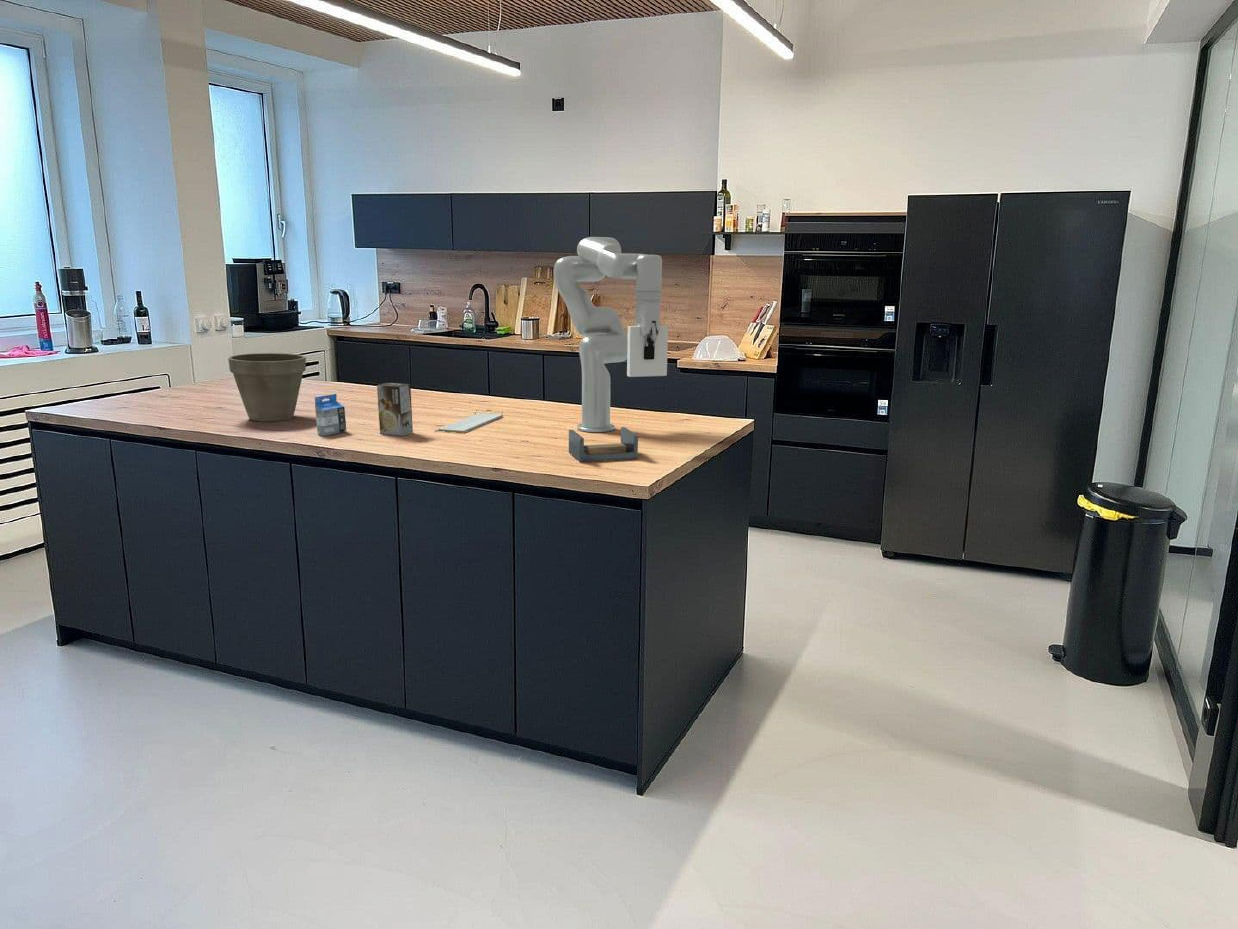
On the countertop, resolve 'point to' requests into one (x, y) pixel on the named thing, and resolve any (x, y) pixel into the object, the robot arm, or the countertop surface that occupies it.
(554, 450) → the countertop surface
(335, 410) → the label tape box
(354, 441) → the countertop surface
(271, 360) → the plant pot
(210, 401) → the countertop surface
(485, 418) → the baseboard molding
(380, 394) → the coffee box
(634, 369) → the white rectangular panel
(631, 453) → the offcut rack
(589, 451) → the offcut stack
